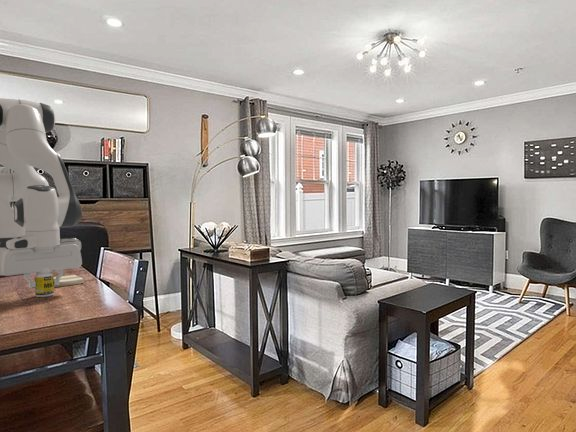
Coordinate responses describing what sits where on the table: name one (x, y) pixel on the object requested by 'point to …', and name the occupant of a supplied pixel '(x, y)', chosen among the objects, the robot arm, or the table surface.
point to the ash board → (69, 280)
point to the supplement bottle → (44, 283)
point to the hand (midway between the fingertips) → (44, 286)
